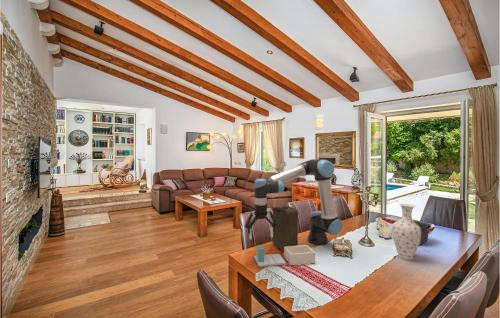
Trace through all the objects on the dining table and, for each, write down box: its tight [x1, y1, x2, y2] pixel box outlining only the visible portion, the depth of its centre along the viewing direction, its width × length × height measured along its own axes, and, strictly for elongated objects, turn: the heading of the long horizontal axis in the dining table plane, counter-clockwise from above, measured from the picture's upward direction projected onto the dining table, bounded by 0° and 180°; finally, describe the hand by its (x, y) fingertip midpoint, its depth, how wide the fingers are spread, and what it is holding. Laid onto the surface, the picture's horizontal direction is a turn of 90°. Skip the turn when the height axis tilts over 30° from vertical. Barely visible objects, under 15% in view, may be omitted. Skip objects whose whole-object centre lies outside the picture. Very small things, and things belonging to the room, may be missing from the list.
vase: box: [391, 203, 421, 261], centre depth 159 cm, size 16×16×35 cm
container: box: [271, 205, 299, 254], centre depth 173 cm, size 22×10×30 cm, turn 22°
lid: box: [253, 244, 287, 267], centre depth 152 cm, size 17×13×9 cm
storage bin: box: [413, 220, 433, 246], centre depth 186 cm, size 21×16×14 cm
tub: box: [283, 244, 316, 266], centre depth 154 cm, size 16×12×7 cm
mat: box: [252, 256, 286, 269], centre depth 152 cm, size 18×14×1 cm
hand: (261, 237), depth 151 cm, fingers open, 13 cm apart
